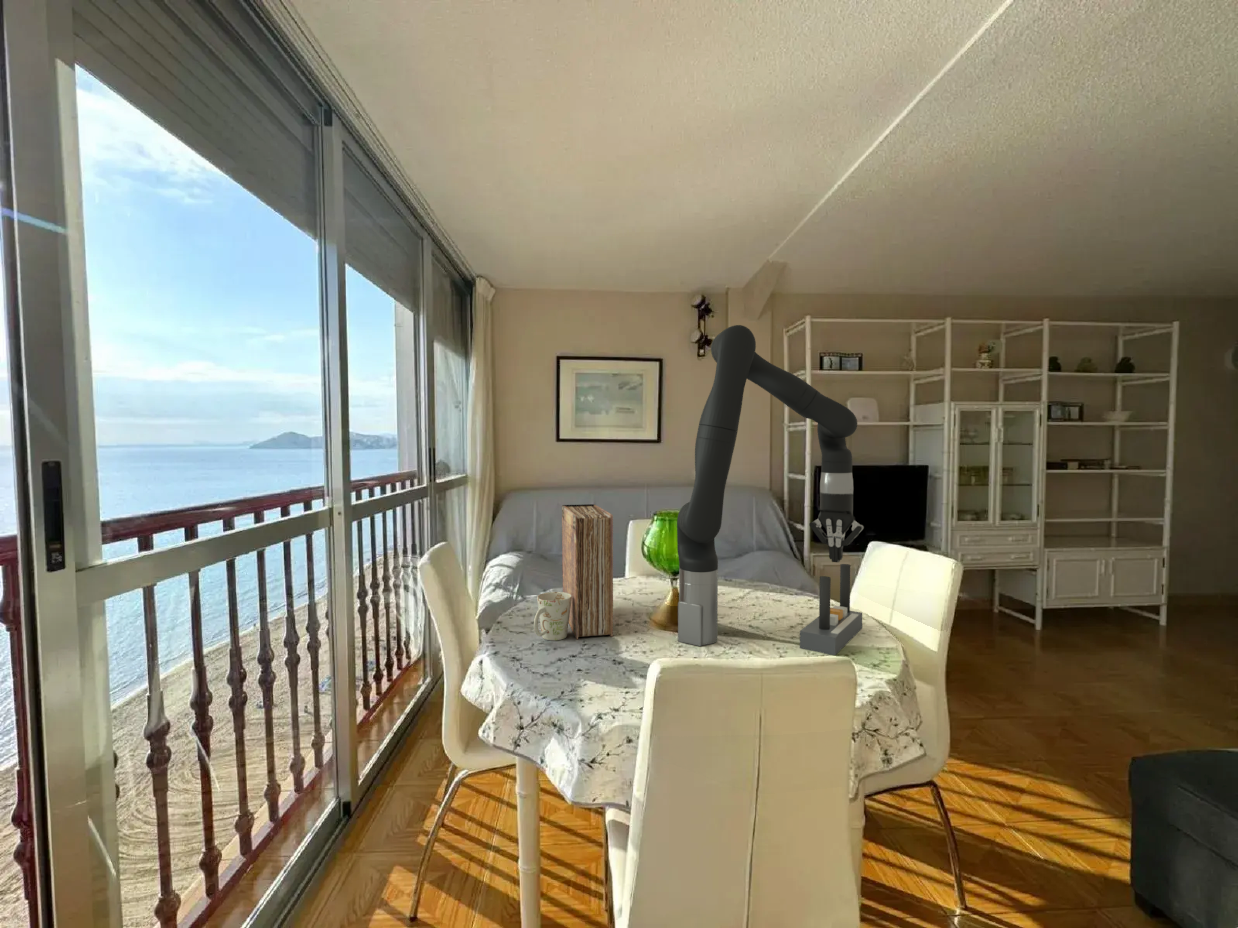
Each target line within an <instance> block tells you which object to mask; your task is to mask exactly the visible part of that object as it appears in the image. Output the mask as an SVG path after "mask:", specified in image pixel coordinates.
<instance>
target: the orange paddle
mask: <svg viewBox="0 0 1238 928" xmlns="http://www.w3.org/2000/svg"><path fill="white" fill-rule="evenodd" d="M830 614H835V615H838V620H841V619H842V618H843V610H840V609H834V608H833V607H830Z"/></svg>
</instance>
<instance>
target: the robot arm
mask: <svg viewBox="0 0 1238 928" xmlns="http://www.w3.org/2000/svg"><path fill="white" fill-rule="evenodd" d="M756 343H757V342H756V338H755V335H754V334H753V332H752V330H751V329H750V328H748V327H747V326H745V325H741V324H734V325H731V326H729V327H727V328H725V329H723V330H722V331H721V332H720V333H718V334H717V335H716V336H715V338H713V340H712V342H711V345H710V353H711V356H712V359H713V360H714V362H716V368H715V375H714V379H713V384H712V387H711V388H710V389H711V390H710V392H709V395H708V397H707V398H706V399H707V400H706V401H705V405H704V407H703V409H702V412H701V416H700V419H699V423H698V427H697V433H696V438H695V445H694V468H695V470H694V472H695V473H694V485H693V488H692V493H691V496H690V497H691V498H690V500H689V502H687V503H685V504H684V505H683V506H682V507H681V508H680V510H679V512H678V514H677V521H676V533H677V534H676V535H677V540H676V542H677V544H676V545H677V555H678V556H677V557H678V564H679V565H678V567H679V568H678V569H679V571H678V573H679V576H678V577H679V578H678V581H679V583H678V589H679V592H678V602H677V641H678V642H681V643H684V644H690V645H694V646H697V647H701V646H705V645H706V646H707V645H711V644H714V643H716V642H717V641H718V623H719V622H718V620H719V619H718V612H719V611H718V606H719V605H718V603H719V601H718V600H719V599H718V595H719V593H718V592H719V591H718V587H719V586H718V585H719V584H718V583H719V582H718V581H719V578H718V577H719V570H718V569H719V558H718V555H717V552H716V546H715V545H716V544H715V538H716V537H717V536H718V534H719V532H720V530H721V528H722V520H723V509H724V499H725V498H724V497H725V489H726V484H727V479H728V476H729V473H730V468H731V463H732V459H733V455H734V451H735V446H736V441H737V436H738V431H739V426H740V425H739V424H740V417H741V413H742V406H743V399H744V391H745V388H746V387H745V386H746V382H747V380H748V381H750V382H752V383H753V384H755V385H756V386H759V387H760V388H762V389H763V390H764V391H766V392H767V393H769V394H770V395H771V396H773V397H775V399H777V400H779V401H780V402H781V403H783V404H784V405H785V406H787V407H788V408H790V409H791V410H793V411H794V412H795V413H797V414H798V415H799V416H801V417H802V418H805V419H809V420H812V421H813V422H816V423H817V425H816V426H817V440H818V443H819V448H820V451H821V467H820V468H821V472H820V482H819V497H820V498H819V501H820V503H819V513H818V515H817V516H818V517H817V519H815V520H813V521H812V522H810V523H809V527H810V529H811V530H812V531H813V532H814V534H815V535H816V536H817V538H818V539H819V541H820V542H821V543H822V544H825V545H828V547H829V548H828V553H829V554H828V558H829V560H831V562H832V563H840V562H841V560H842V559H843V558H844V557H843V556H844V555H843V553H844V551H843V549H844V547H845V546H846V547H847V546H848V545H851V544H852V543H853V541H854V540H855V539H856V538H857V537H858V536H859V534H860V533H861V532H862V531H863V530H864V529H865V526H864V525H863V524H860V523H859V522H857V521H856V517H855V516H854V478H853V455H852V451H851V450H850V449H849V448H848V447H847V443H846V442H847V441H846V438H848V437H850V436H852V435H853V434H854V433H855V432H856V431H857V430H858V429H857V428H858V419H857V416H856V415H855V414H854V412H853V411H851V410H850V409H849V408H848V407H846V406H845V405H843V404H841V403H840V402H837V401H836V400H835V399H832V398H830V397H828V396H825V394H823V393H821V392H820V391H818V389H816V388H815V387H813V386H812V385H811V384H809V383H808V382H806V381H804V380H803V379H801V378H800V377H799V376H796V375H795V374H793V373H791V372H790V371H788V370H785V369H783V368H780V367H778V366H776V365H774V364H773V363H771V362H769V361H767V360H766V359H765V358H764V357H762V356H761V355H760V354H758V353H757V352H756V348H757V345H756ZM851 526H852V527H851ZM822 527H823V528H824V529H825V531H826V533H825V531H824V529H822ZM850 527H851V533H850V534H849V535H847V537H846V538H845V536H846V533H847V531H848V530H849V529H850Z"/></svg>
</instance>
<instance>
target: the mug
mask: <svg viewBox="0 0 1238 928" xmlns="http://www.w3.org/2000/svg"><path fill="white" fill-rule="evenodd" d="M536 600H537V608H538V609H537V611H536V614H535V616H534V619H533V629H534V633H535V636H538V637H542V639H544V640H546V641H560V640H564V639H566V638H567V637H568V630H569V615H570V607H571V595H570V594H568V593H564V592H563V591H550V592H544V593H540V594H538V595H537V598H536ZM538 623H540V624H538ZM538 625H540V629H541V631H540V630H539V626H538Z"/></svg>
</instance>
